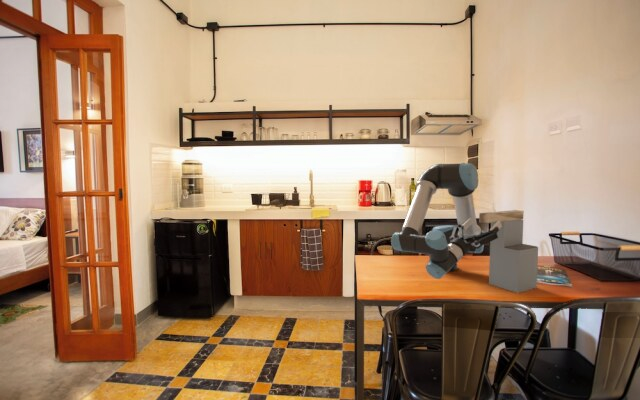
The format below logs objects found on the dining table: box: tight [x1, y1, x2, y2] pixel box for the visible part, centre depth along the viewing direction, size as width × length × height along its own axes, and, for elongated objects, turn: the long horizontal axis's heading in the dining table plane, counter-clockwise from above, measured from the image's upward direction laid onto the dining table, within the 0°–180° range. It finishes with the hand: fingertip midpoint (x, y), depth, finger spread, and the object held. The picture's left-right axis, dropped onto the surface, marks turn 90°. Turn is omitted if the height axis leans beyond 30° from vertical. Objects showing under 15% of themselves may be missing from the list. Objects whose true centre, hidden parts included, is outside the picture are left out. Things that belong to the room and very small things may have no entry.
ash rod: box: [478, 209, 525, 224], centre depth 149 cm, size 4×26×4 cm, turn 118°
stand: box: [488, 219, 539, 294], centre depth 149 cm, size 14×14×30 cm
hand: (485, 221), depth 143 cm, fingers open, 13 cm apart
